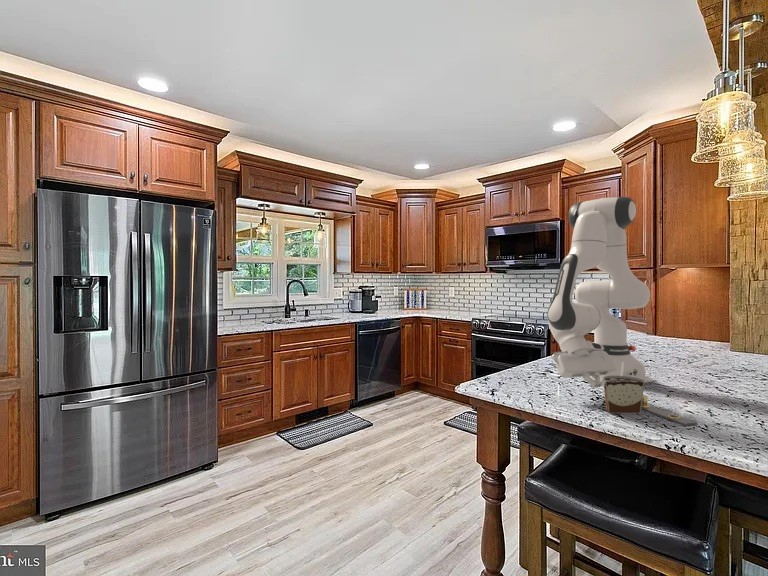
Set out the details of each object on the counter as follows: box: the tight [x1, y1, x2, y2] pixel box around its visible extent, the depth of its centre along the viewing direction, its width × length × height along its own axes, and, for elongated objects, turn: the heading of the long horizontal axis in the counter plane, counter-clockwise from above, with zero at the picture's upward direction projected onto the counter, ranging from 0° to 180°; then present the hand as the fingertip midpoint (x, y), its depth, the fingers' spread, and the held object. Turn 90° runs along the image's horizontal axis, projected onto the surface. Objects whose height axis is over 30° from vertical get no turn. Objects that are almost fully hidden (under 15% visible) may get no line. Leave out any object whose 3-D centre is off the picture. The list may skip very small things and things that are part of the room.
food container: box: [601, 376, 647, 414], centre depth 122 cm, size 12×6×10 cm, turn 89°
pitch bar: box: [641, 394, 698, 427], centre depth 119 cm, size 4×20×4 cm, turn 13°
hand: (597, 386), depth 131 cm, fingers closed
